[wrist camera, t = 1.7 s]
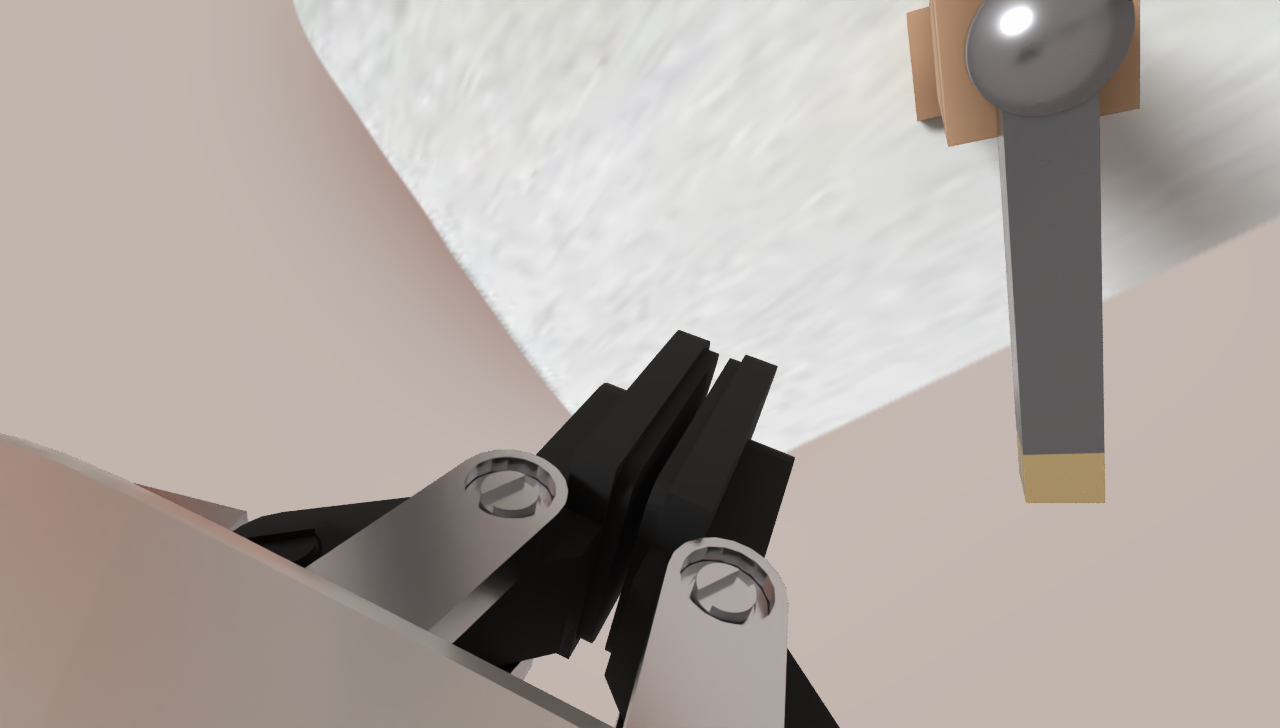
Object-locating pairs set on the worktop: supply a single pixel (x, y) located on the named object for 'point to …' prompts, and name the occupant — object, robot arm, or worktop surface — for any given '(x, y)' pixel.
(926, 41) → the post
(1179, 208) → the worktop surface
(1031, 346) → the latch bar
